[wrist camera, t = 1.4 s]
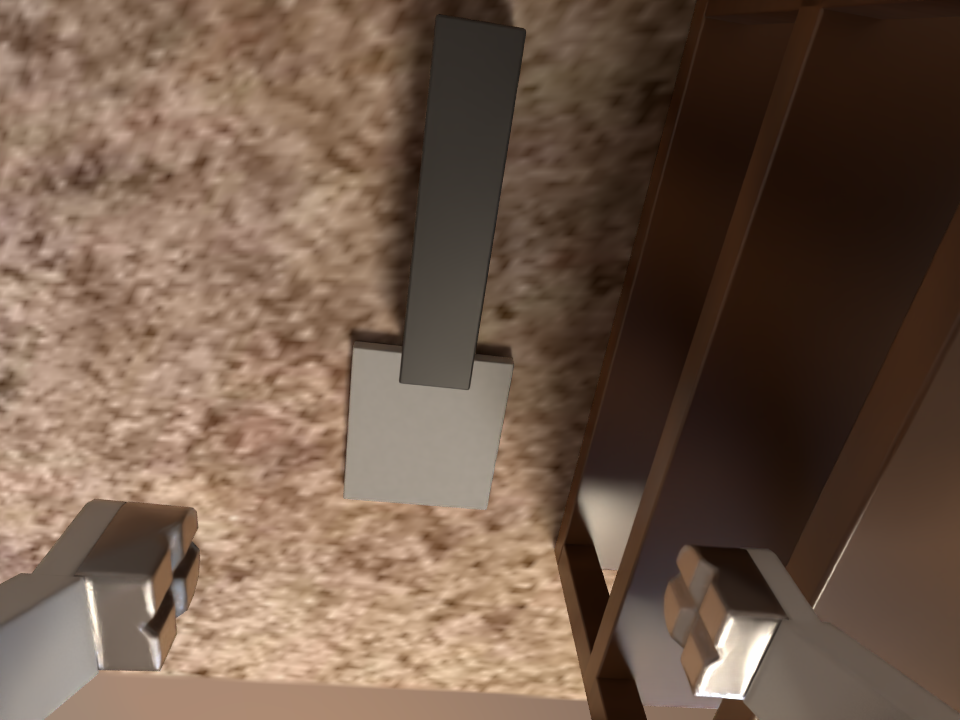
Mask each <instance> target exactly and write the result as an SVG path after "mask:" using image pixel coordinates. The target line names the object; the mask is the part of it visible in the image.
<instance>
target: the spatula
mask: <svg viewBox="0 0 960 720" xmlns="http://www.w3.org/2000/svg"><path fill="white" fill-rule="evenodd" d="M525 37H526V30H525V29H524V28H519V27H513V26H507V25H501V24H495V23H489V22H483V21H477V20H471V19H465V18H459V17H453V16H447V15H441V14H438V15H437V16H436V20H435V30H434V39H433V49H432V59H431V69H430V79H429V89H428V99H427V108H426V118H425V128H424V138H423V148H422V158H421V167H420V177H419V187H418V197H417V207H416V217H415V227H414V236H413V246H412V256H411V266H410V276H409V286H408V296H407V305H406V315H405V325H404V335H403V345H402V346H397V345H387V344H378V343H369V342H359V341H355V342H354V346H353V354H352V370H351V385H350V401H349V417H348V433H347V448H346V464H345V480H344V496H343V497H344V499H354V500H366V501H379V502H392V503H405V504H417V505H430V506H443V507H456V508H468V509H481V510H486V509H487V505H488V500H489V494H490V489H491V484H492V479H493V473H494V468H495V463H496V458H497V452H498V447H499V442H500V437H501V431H502V426H503V421H504V416H505V410H506V405H507V400H508V395H509V389H510V384H511V379H512V374H513V368H514V362H513V358H509V357H500V356H491V355H481V354H475V352H476V346H477V340H478V334H479V327H480V321H481V315H482V308H483V302H484V296H485V289H486V283H487V277H488V270H489V264H490V258H491V252H492V245H493V239H494V233H495V226H496V220H497V214H498V207H499V201H500V195H501V188H502V182H503V176H504V169H505V163H506V157H507V151H508V144H509V138H510V132H511V125H512V119H513V113H514V106H515V100H516V94H517V87H518V81H519V75H520V69H521V62H522V56H523V50H524V43H525Z"/></svg>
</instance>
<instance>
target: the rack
mask: <svg viewBox="0 0 960 720" xmlns="http://www.w3.org/2000/svg"><path fill="white" fill-rule="evenodd" d="M685 544H689V545H704V546H719V547H734V548H741V547H744V548H762V549H769V550H771V551H772V552H774V553H775V554H776V555H777V557H778V558H779V560H780V561H781V563H782V564H783V566H784V567H785V569H786V570H787V572H788V573H789V575H790V576H791V578H792V579H793V581H794V582H795V584H796V585H797V586H798V588H799V589H800V591H801V592H802V594H803V595H804V597H805V598H806V600H807V601H808V603H809V604H810V606H811V607H812V609H813V610H814V612H815V613H816V615H817V616H818V618H819V619H820V621H821V622H829V623H831V624H833V625H834V626H836V627H837V628H838V629H840V630H841V631H843V632H844V633H846V634H847V635H848V636H850V637H851V638H853V639H854V640H856V641H857V642H858V643H860V644H861V645H863V646H864V647H866V648H867V649H868V650H870V651H871V652H873V653H874V654H876V655H877V656H878V657H880V658H881V659H883V660H884V661H886V662H887V663H888V664H890V665H891V666H893V667H894V668H896V669H897V670H898V671H900V672H901V673H903V674H904V675H906V676H907V677H908V678H910V679H911V680H913V681H914V682H916V683H917V684H919V685H920V686H921V687H923V688H924V689H926V690H927V691H929V692H930V693H931V694H933V695H934V696H936V697H937V698H939V699H940V700H941V701H943V702H944V703H946V704H947V705H949V706H950V707H951V708H953V709H954V710H956V711H957V712H959V713H960V0H697V2H696V6H695V10H694V14H693V18H692V21H691V25H690V29H689V33H688V37H687V41H686V45H685V48H684V52H683V56H682V60H681V64H680V68H679V72H678V75H677V79H676V83H675V87H674V91H673V95H672V99H671V102H670V106H669V110H668V114H667V118H666V122H665V126H664V129H663V133H662V137H661V141H660V145H659V149H658V153H657V156H656V160H655V164H654V168H653V172H652V176H651V180H650V183H649V187H648V191H647V195H646V199H645V203H644V207H643V210H642V214H641V218H640V222H639V226H638V230H637V234H636V238H635V241H634V245H633V249H632V253H631V257H630V261H629V265H628V268H627V272H626V276H625V280H624V284H623V288H622V292H621V295H620V299H619V303H618V307H617V311H616V315H615V319H614V322H613V326H612V330H611V334H610V338H609V342H608V346H607V349H606V353H605V357H604V361H603V365H602V369H601V373H600V376H599V380H598V384H597V388H596V392H595V396H594V400H593V403H592V407H591V411H590V415H589V419H588V423H587V427H586V430H585V434H584V438H583V442H582V446H581V450H580V454H579V457H578V461H577V465H576V469H575V473H574V477H573V481H572V484H571V488H570V492H569V496H568V500H567V504H566V508H565V512H564V515H563V519H562V523H561V527H560V531H559V535H558V539H557V542H556V546H555V550H554V551H555V556H556V560H557V565H558V570H559V574H560V579H561V583H562V588H563V593H564V597H565V602H566V606H567V611H568V615H569V620H570V624H571V629H572V633H573V638H574V642H575V647H576V651H577V656H578V660H579V665H580V669H581V674H582V678H583V683H584V687H585V692H586V696H587V701H588V705H589V710H590V714H591V719H592V720H647V718H646V715H645V712H644V708H643V706H665V707H688V708H710V709H718V710H717V712H716V714H715V716H714V718H713V720H760V719H759V718H758V717H757V716H756V715H755V714H754V713H753V712H752V711H751V710H750V709H749V708H748V707H747V706H746V705H745V703H744V702H743V700H744V699H734V698H721V697H708V696H694V695H693V692H692V690H691V687H690V685H689V682H688V680H687V677H686V675H685V672H684V670H683V667H682V665H681V662H680V657H681V655H682V652H683V650H684V649H683V648H682V647H681V646H680V645H679V644H678V643H677V642H675V641H674V640H673V639H672V638H671V637H670V634H669V631H668V629H667V626H666V622H665V617H664V594H665V591H666V588H667V585H668V581H669V580H670V579H672V578H673V577H674V576H676V575H677V574H678V573H680V570H679V568H678V566H677V563H676V559H677V557H678V554H679V552H680V550H681V549H682V548H683V546H684V545H685ZM602 569H606V570H618V572H617V575H616V578H615V581H614V584H613V587H612V590H611V594H610V596H609V592H608V589H607V586H606V583H605V579H604V576H603V573H602Z"/></svg>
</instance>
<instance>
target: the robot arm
mask: <svg viewBox="0 0 960 720" xmlns="http://www.w3.org/2000/svg"><path fill="white" fill-rule="evenodd" d="M197 529H198V520H197V511H196V510H195V509H194V508H191V507H181V506H171V505H160V504H150V503H140V502H123V501H113V500H102V499H94V500H92V501H90V502H88V503H87V504H85V506H84V507H83V508H82V510H81V511H80V512H79V513H78V515H77V516H76V517H75V519H74V520H73V521H72V522H71V524H70V525H69V526H68V528H67V529H66V530H65V531H64V533H63V534H62V535H61V537H60V538H59V539H58V540H57V542H56V543H55V544H54V546H53V547H52V548H51V549H50V551H49V552H48V553H47V555H46V556H45V557H44V558H43V560H42V561H41V562H40V564H39V565H38V566H37V567H36V569H35V570H34V571H33V573H32V574H25V573H20V574H18V575H17V576H15V577H13V578H11V579H9V580H7V581H5V582H3V583H1V584H0V720H44V719H45V718H46V717H48V716H49V715H50V714H51V713H52V712H53V711H55V710H56V709H57V708H58V707H59V706H61V705H62V704H63V703H64V702H65V701H67V700H68V699H69V698H70V697H71V696H73V695H74V694H75V693H76V692H77V691H78V690H80V689H81V688H82V687H83V686H84V685H86V684H87V683H88V682H89V681H90V680H92V679H93V678H94V677H95V676H96V675H97V674H98V673H99V672H98V670H125V671H160V670H161V668H162V666H163V664H164V661H165V659H166V657H167V655H168V652H169V650H170V648H171V646H172V644H173V641H174V639H175V637H176V635H177V627H176V618H177V617H178V616H180V615H181V614H183V613H184V612H185V611H187V610H188V608H189V605H190V603H191V601H192V598H193V596H194V593H195V589H196V585H197V581H198V577H199V568H200V550H199V548H198V547H197V546H196V545H195V544H194V543H193V542H192V540H193V538H194V535H195V533H196V531H197ZM676 563H677V566H678V568H679V570H680V573H678V574H677V575H676V576H674V577H673V578H672V579H670V580H669V581H668V585H667V588H666V591H665V594H664V617H665V622H666V626H667V629H668V631H669V634H670V637H671V638H672V639H673V640H674V641H675V642H677V643H678V644H679V645H680V646H681V647H682V648H683V649H684V650H683V652H682V655H681V657H680V662H681V665H682V667H683V670H684V672H685V675H686V677H687V680H688V682H689V685H690V687H691V690H692V692H693V695H694V696H708V697H721V698H734V699H744V700H743V702H744V703H745V705H746V706H747V707H748V708H749V709H750V710H751V711H752V712H753V713H754V714H755V715H756V716H757V717H758V718H759V719H760V720H960V713H959V712H957V711H956V710H954V709H953V708H951V707H950V706H949V705H947V704H946V703H944V702H943V701H941V700H940V699H939V698H937V697H936V696H934V695H933V694H931V693H930V692H929V691H927V690H926V689H924V688H923V687H921V686H920V685H919V684H917V683H916V682H914V681H913V680H911V679H910V678H908V677H907V676H906V675H904V674H903V673H901V672H900V671H898V670H897V669H896V668H894V667H893V666H891V665H890V664H888V663H887V662H886V661H884V660H883V659H881V658H880V657H878V656H877V655H876V654H874V653H873V652H871V651H870V650H868V649H867V648H866V647H864V646H863V645H861V644H860V643H858V642H857V641H856V640H854V639H853V638H851V637H850V636H848V635H847V634H846V633H844V632H843V631H841V630H840V629H838V628H837V627H836V626H834V625H833V624H831V623H829V622H821V621H820V619H819V618H818V616H817V615H816V613H815V612H814V610H813V609H812V607H811V606H810V604H809V603H808V601H807V600H806V598H805V597H804V595H803V594H802V592H801V591H800V589H799V588H798V586H797V585H796V584H795V582H794V581H793V579H792V578H791V576H790V575H789V573H788V572H787V570H786V569H785V567H784V566H783V564H782V563H781V561H780V560H779V558H778V557H777V555H776V554H775V553H774V552H772V551H771V550H769V549H762V548H744V547H741V548H734V547H719V546H704V545H689V544H685V545H684V546H683V548H682V549H681V550H680V552H679V554H678V557H677V559H676Z"/></svg>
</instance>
